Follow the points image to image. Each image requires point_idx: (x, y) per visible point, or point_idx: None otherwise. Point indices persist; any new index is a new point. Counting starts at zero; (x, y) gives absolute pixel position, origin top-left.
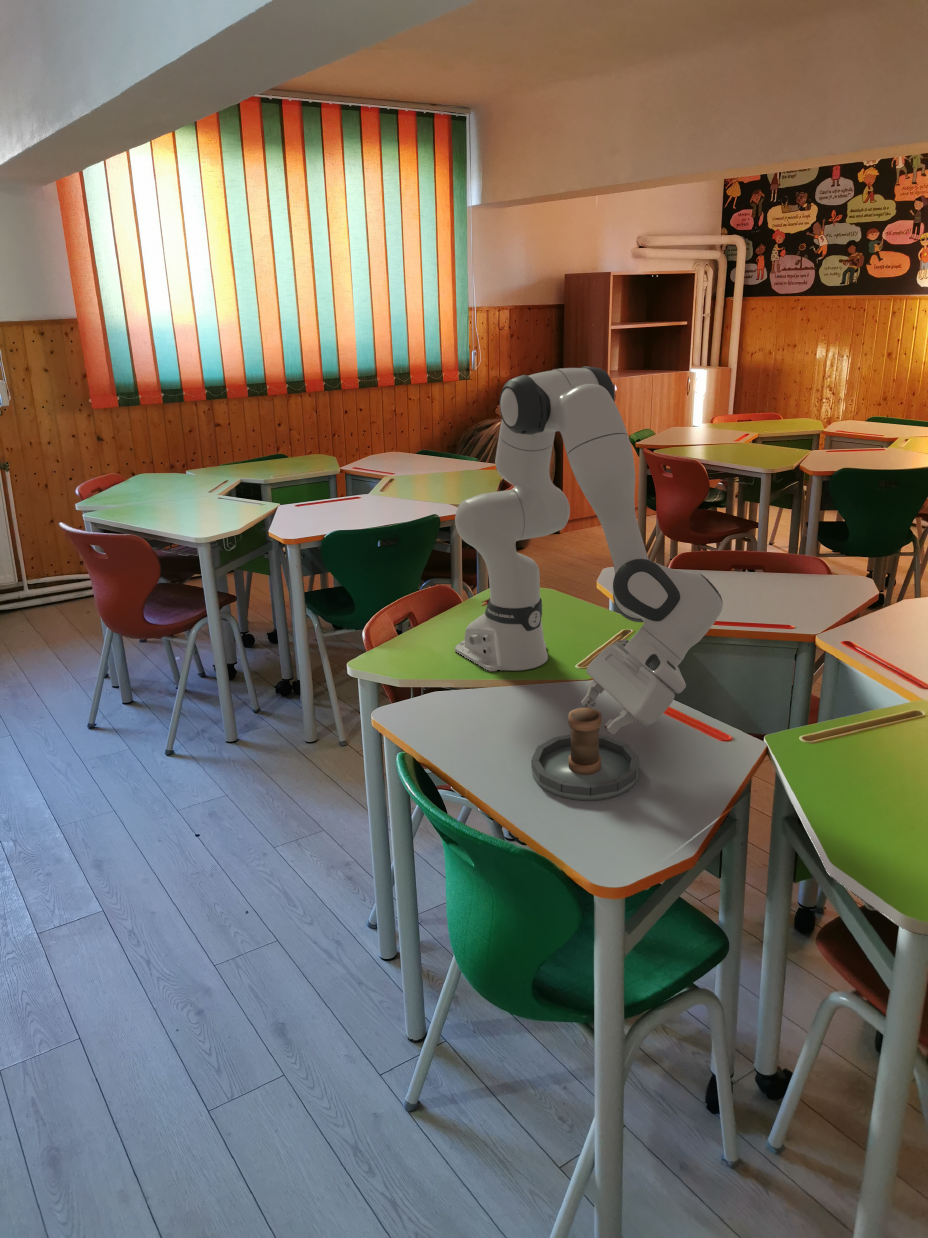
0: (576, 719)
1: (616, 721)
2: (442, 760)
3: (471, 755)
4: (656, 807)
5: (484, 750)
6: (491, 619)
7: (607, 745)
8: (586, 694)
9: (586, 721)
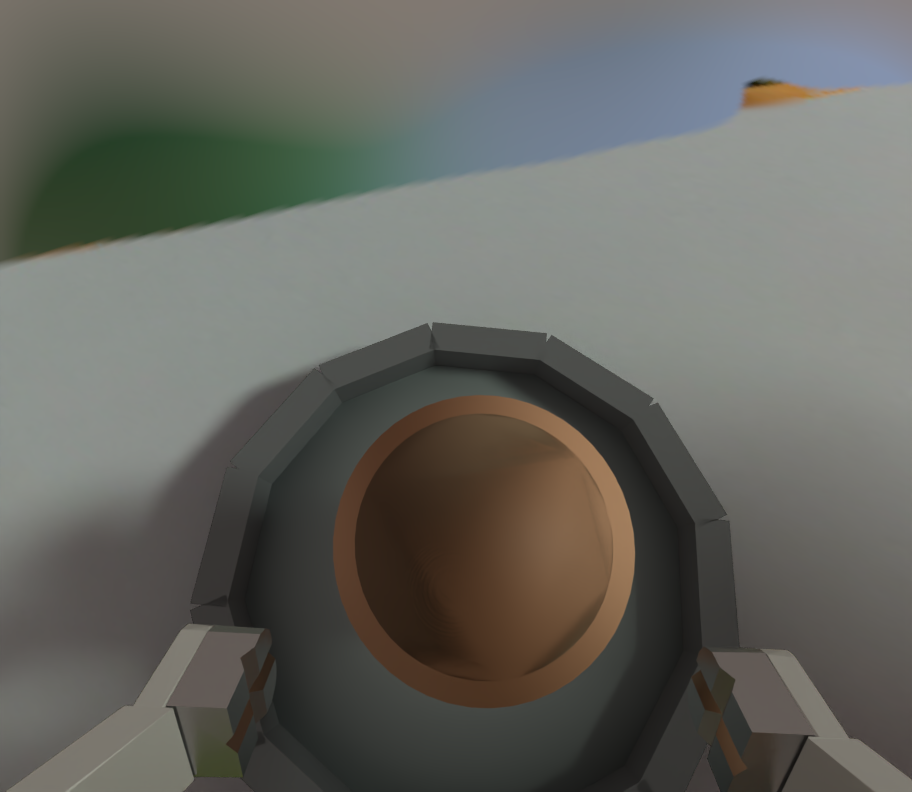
0: (441, 431)
1: (100, 728)
2: (723, 145)
3: (735, 227)
4: (60, 738)
5: (761, 275)
6: None
7: (603, 784)
8: (858, 740)
9: (371, 492)
